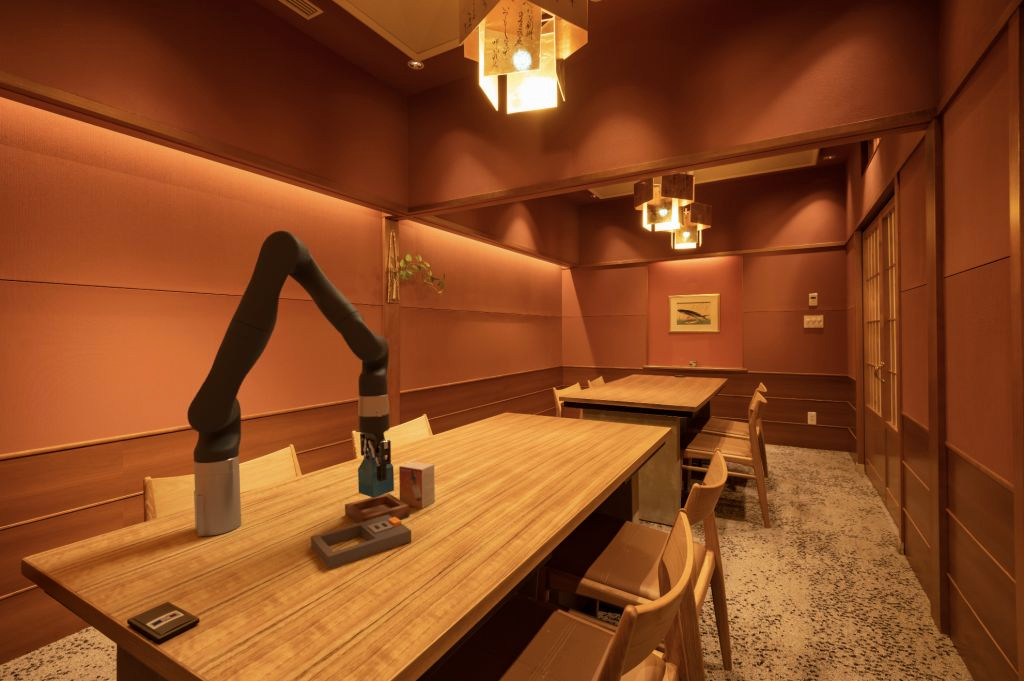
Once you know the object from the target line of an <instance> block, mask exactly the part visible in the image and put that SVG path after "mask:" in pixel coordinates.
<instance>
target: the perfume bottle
mask: <svg viewBox="0 0 1024 681" xmlns="http://www.w3.org/2000/svg"><path fill="white" fill-rule="evenodd" d="M369 449H370V450H368V455H369V456H370V457H368V458H365V459H364V458H363V459H362V461H361V463H360V465H359V466H358V468H357V475H358V476H357V479H358V480H357V481H358V493H359V494H361V495H363V496H367V497H369V498H375V497H378V496H380V495H384V494H388V493H389V494H390V493H391V492H394V491H395V478H394V477H395V476H394V465H393V464H392V463H391V464H388V465H386V471H387V479H386V480H384V481H378V480H377V464H376V460H375V458H373V456H372V452H371V448H370V447H369ZM379 460H380V458H379Z"/></svg>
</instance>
